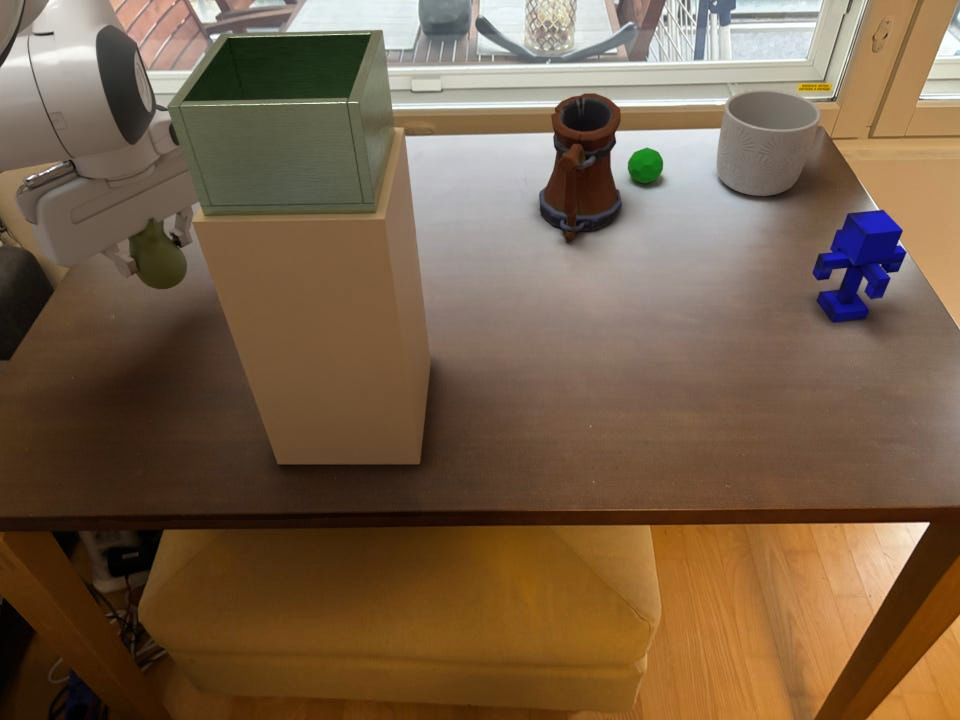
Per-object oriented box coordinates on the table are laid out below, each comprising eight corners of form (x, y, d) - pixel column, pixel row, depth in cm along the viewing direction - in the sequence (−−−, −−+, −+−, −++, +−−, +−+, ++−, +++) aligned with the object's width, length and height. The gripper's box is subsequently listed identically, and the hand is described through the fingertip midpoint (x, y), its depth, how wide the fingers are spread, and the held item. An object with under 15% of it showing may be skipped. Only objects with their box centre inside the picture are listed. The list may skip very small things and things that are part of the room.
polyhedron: (666, 186, 107) (670, 156, 104) (634, 191, 107) (637, 161, 103) (652, 169, 111) (656, 140, 108) (621, 174, 110) (624, 144, 107)
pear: (149, 271, 86) (118, 195, 79) (196, 267, 87) (169, 191, 80) (139, 301, 82) (105, 224, 75) (188, 296, 83) (159, 219, 76)
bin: (277, 464, 73) (152, 111, 48) (305, 365, 83) (214, 30, 58) (419, 464, 72) (368, 107, 47) (430, 364, 82) (393, 25, 57)
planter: (789, 160, 112) (809, 89, 104) (808, 205, 103) (831, 131, 95) (705, 159, 113) (718, 89, 105) (716, 203, 104) (732, 130, 96)
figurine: (884, 304, 87) (923, 216, 79) (863, 340, 83) (901, 251, 75) (819, 281, 91) (850, 195, 82) (796, 314, 86) (826, 226, 78)
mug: (605, 267, 94) (616, 159, 84) (517, 254, 97) (517, 148, 86) (626, 193, 107) (638, 91, 96) (547, 183, 109) (551, 83, 99)
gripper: (23, 196, 65) (85, 317, 75) (216, 111, 77) (249, 226, 86) (-10, 175, 68) (53, 294, 78) (180, 96, 80) (215, 209, 89)
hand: (157, 258), depth 82 cm, fingers closed on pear, 5 cm apart
